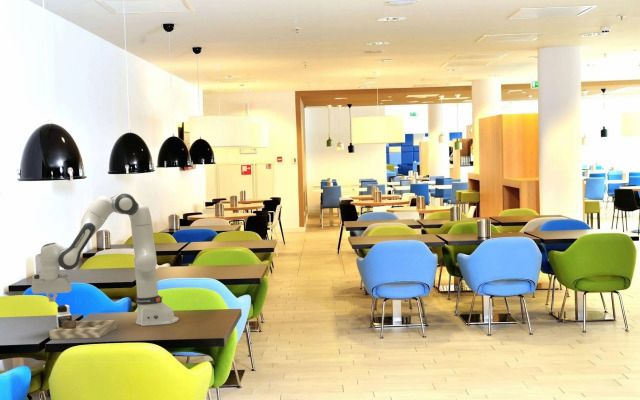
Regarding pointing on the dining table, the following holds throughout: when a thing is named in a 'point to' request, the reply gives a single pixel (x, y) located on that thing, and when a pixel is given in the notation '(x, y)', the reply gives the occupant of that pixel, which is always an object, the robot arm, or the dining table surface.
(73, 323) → the walnut block
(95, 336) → the woven tray
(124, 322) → the dining table surface
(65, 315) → the medicine bottle
